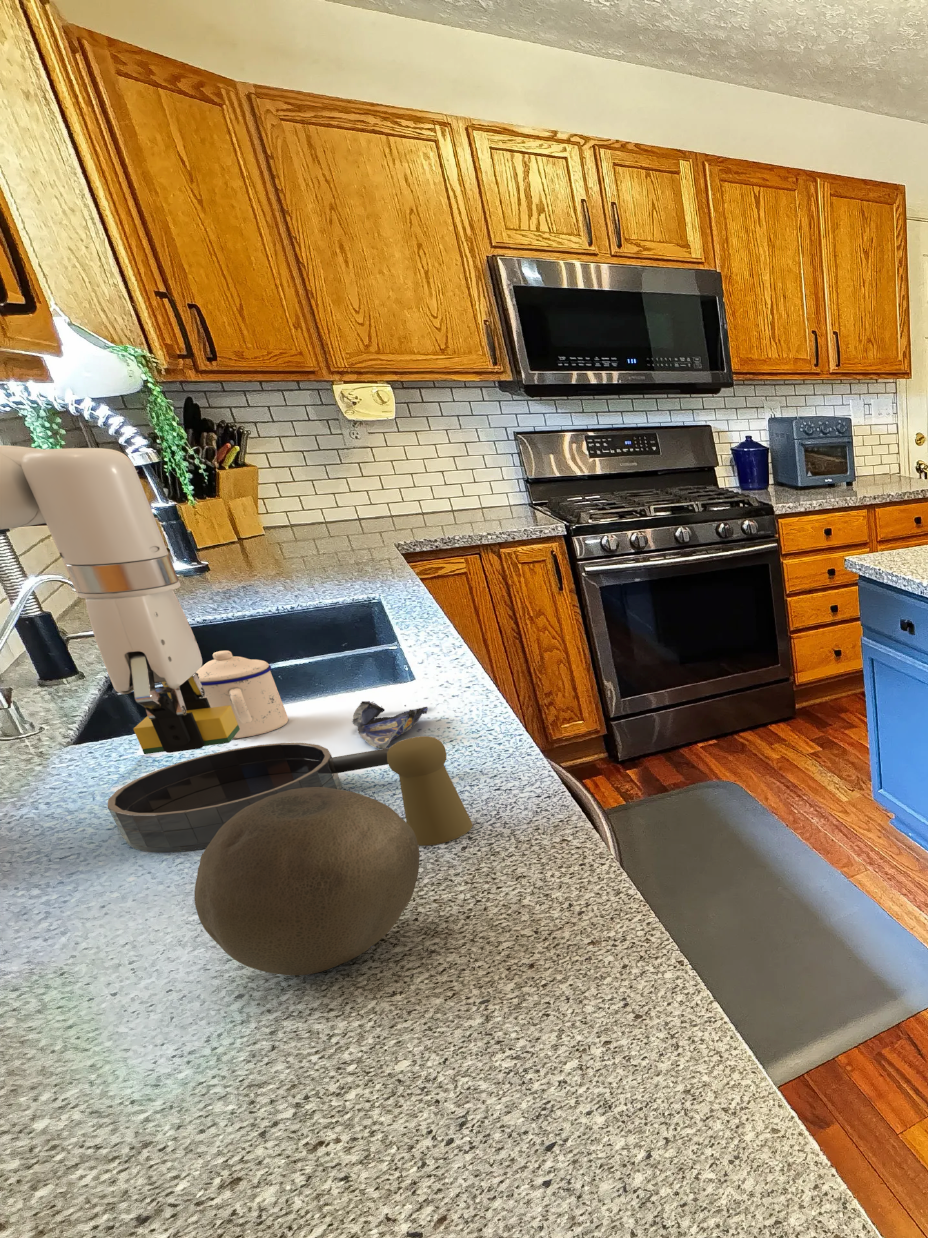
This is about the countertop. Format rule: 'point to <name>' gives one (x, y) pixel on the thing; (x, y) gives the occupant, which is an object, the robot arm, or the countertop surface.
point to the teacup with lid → (244, 692)
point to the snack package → (383, 723)
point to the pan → (212, 793)
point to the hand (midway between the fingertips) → (192, 739)
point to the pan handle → (358, 761)
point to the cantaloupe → (306, 879)
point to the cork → (428, 791)
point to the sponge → (211, 722)
